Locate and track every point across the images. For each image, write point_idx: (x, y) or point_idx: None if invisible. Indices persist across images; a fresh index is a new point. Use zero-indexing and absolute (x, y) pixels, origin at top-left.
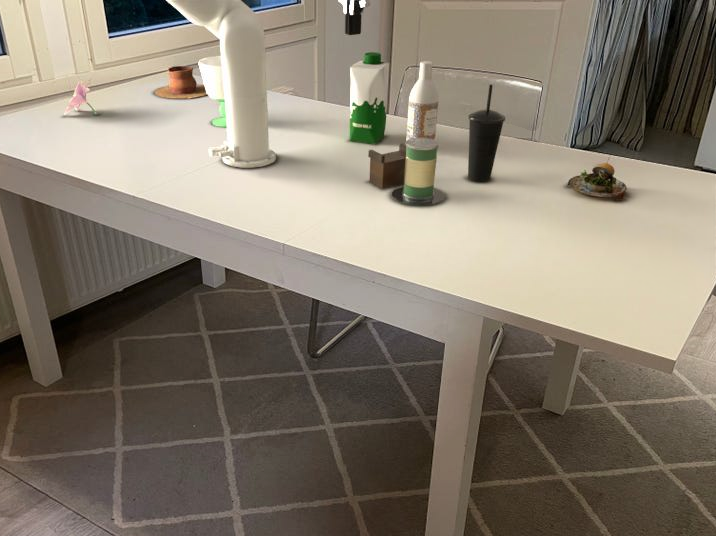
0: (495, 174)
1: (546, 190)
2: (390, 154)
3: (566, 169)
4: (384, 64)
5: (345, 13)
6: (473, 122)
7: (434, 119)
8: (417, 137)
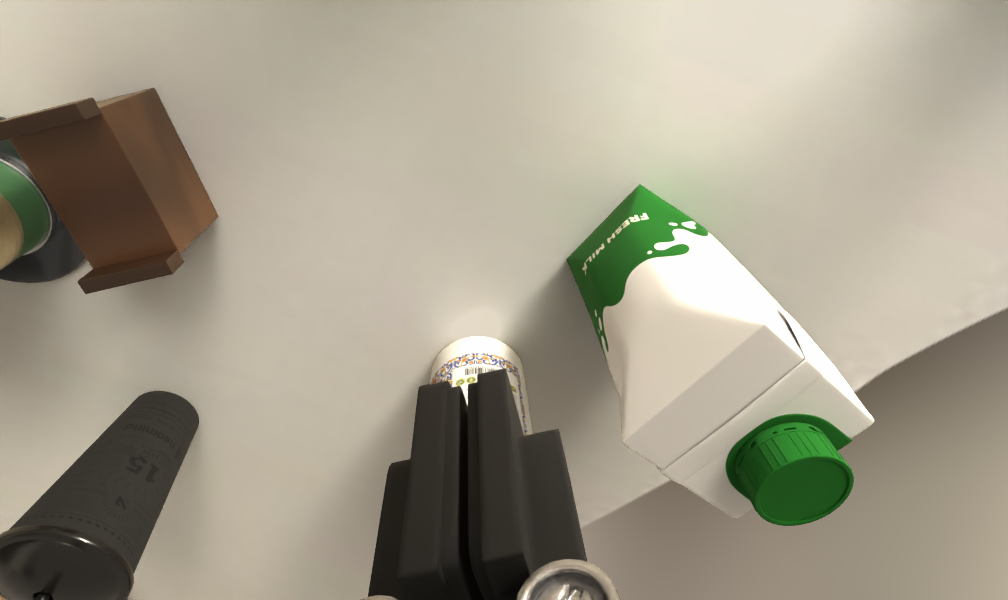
0: (203, 462)
1: None
2: (126, 200)
3: (224, 595)
4: (712, 492)
5: (549, 568)
6: (28, 524)
7: None
8: (438, 378)
